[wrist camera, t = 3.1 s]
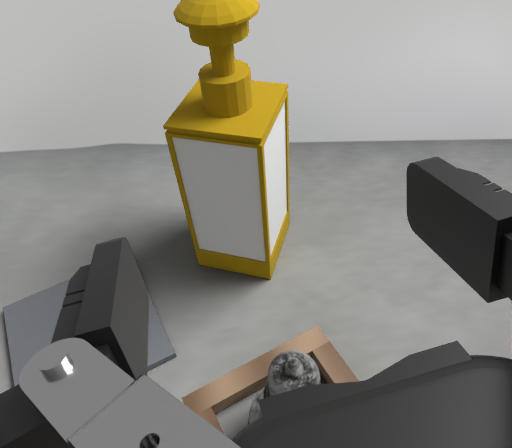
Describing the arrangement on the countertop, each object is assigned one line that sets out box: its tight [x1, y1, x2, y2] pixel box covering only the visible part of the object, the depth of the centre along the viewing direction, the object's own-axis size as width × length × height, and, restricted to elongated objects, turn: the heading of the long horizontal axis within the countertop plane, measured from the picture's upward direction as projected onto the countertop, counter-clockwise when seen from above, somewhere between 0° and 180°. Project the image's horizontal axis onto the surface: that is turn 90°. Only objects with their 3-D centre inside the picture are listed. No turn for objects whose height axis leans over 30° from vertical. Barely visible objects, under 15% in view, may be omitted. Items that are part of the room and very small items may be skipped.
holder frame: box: [182, 326, 359, 434], centre depth 30 cm, size 12×12×2 cm
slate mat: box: [3, 280, 176, 386], centre depth 37 cm, size 12×12×1 cm
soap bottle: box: [163, 0, 290, 279], centre depth 36 cm, size 7×13×24 cm, turn 163°
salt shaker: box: [248, 350, 321, 425], centre depth 26 cm, size 6×6×12 cm
